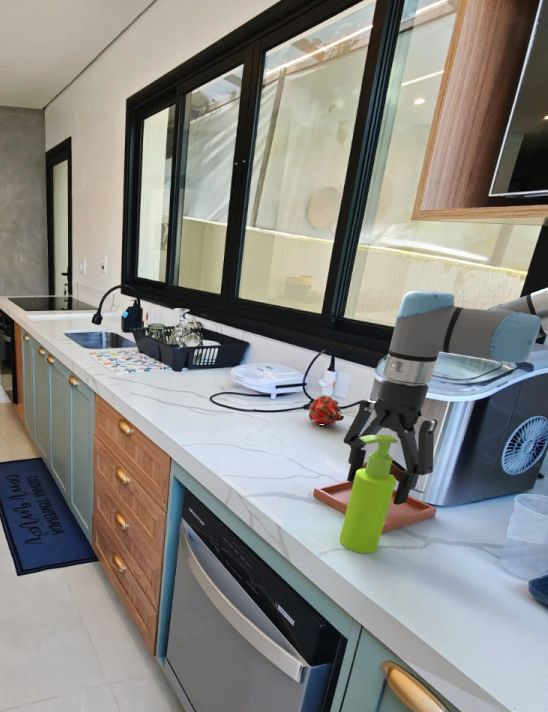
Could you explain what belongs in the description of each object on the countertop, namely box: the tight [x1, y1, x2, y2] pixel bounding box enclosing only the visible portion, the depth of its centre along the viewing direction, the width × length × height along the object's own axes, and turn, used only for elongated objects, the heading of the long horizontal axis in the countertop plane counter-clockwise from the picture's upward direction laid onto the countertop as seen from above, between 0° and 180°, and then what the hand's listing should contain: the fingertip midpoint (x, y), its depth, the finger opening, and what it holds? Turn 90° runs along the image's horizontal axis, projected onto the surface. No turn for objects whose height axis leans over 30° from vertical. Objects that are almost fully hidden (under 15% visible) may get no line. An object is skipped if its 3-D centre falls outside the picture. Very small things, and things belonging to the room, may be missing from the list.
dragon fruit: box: [308, 395, 345, 427], centre depth 144 cm, size 8×8×12 cm
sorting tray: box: [312, 479, 438, 535], centre depth 100 cm, size 16×16×2 cm
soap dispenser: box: [339, 434, 398, 554], centre depth 84 cm, size 6×7×20 cm
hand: (375, 490), depth 99 cm, fingers closed on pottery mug, 9 cm apart
